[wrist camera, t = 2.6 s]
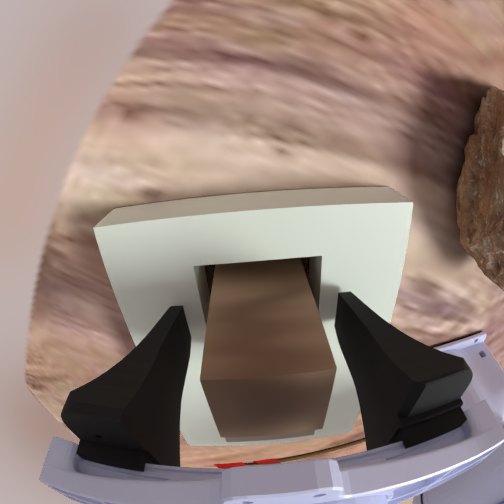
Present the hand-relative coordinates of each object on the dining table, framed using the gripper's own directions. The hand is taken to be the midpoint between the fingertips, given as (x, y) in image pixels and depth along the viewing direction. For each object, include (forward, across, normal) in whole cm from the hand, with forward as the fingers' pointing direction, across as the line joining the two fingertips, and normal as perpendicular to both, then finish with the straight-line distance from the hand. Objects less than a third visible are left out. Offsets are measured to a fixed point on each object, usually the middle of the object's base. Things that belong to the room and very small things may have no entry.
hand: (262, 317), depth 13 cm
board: (+3, 0, +5) cm, 6 cm away
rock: (+3, -16, -5) cm, 17 cm away
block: (+3, 0, 0) cm, 3 cm away
